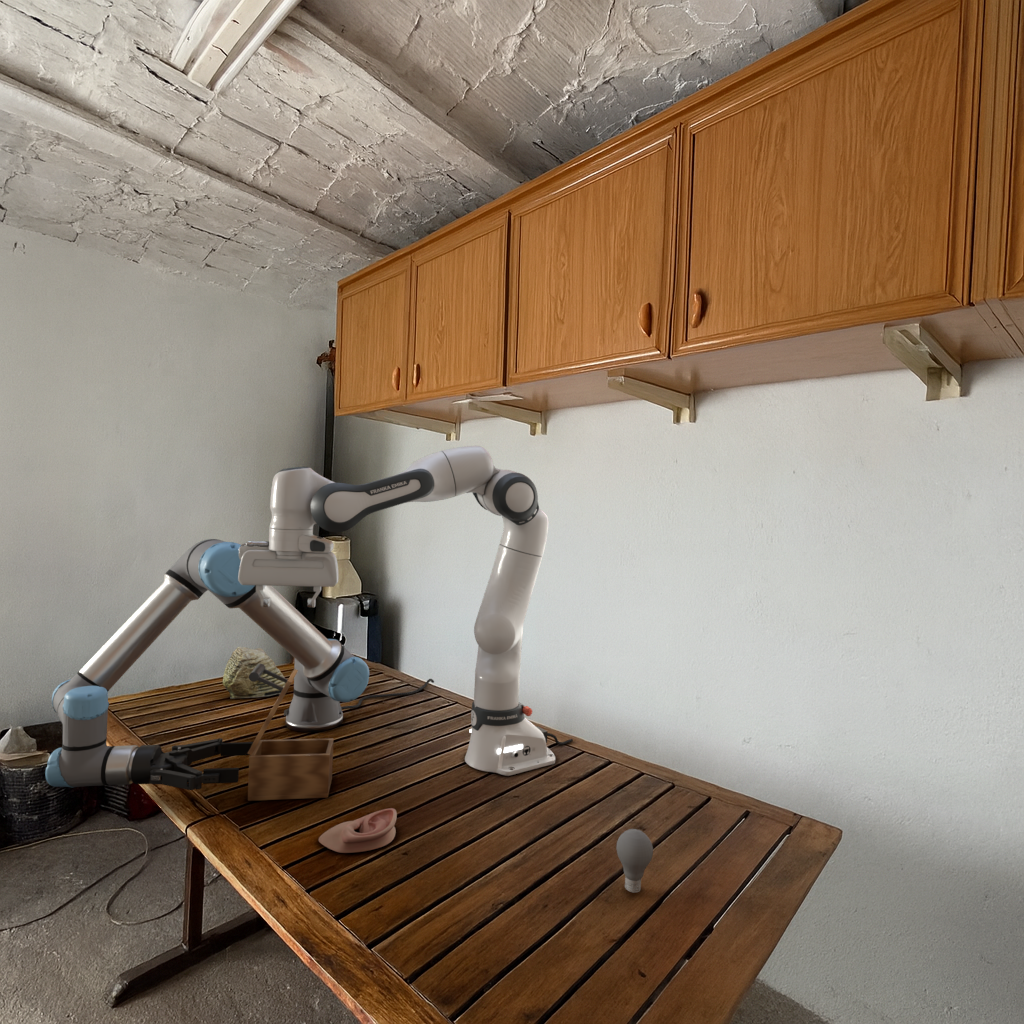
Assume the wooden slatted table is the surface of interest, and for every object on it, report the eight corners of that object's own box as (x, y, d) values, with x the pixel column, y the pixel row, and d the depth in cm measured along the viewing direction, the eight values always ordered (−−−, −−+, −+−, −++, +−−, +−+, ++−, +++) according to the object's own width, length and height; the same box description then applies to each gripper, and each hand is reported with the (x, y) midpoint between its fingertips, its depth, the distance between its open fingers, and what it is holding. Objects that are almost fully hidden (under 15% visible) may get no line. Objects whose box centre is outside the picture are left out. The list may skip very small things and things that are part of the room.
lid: (298, 670, 141) (263, 654, 139) (291, 682, 132) (254, 665, 130) (260, 738, 140) (225, 722, 138) (251, 755, 130) (213, 738, 129)
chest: (331, 778, 143) (333, 738, 142) (327, 797, 134) (329, 754, 133) (257, 781, 140) (258, 739, 140) (247, 801, 131) (249, 757, 130)
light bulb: (610, 879, 108) (613, 822, 108) (644, 879, 109) (647, 822, 109) (619, 902, 102) (622, 840, 102) (655, 901, 103) (658, 840, 103)
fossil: (218, 695, 195) (220, 647, 195) (278, 685, 208) (279, 640, 207) (228, 703, 189) (230, 653, 188) (289, 692, 201) (290, 645, 201)
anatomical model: (310, 826, 114) (340, 797, 125) (309, 848, 114) (339, 817, 125) (379, 837, 111) (403, 806, 122) (378, 859, 111) (403, 827, 123)
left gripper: (157, 758, 143) (257, 755, 147) (109, 812, 118) (230, 807, 122) (158, 725, 143) (258, 722, 147) (110, 772, 118) (232, 768, 122)
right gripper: (235, 541, 130) (233, 608, 130) (338, 544, 134) (335, 609, 134) (242, 539, 136) (240, 603, 137) (340, 542, 140) (338, 604, 140)
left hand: (245, 761), depth 134 cm, fingers open, 13 cm apart
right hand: (288, 606), depth 135 cm, fingers open, 8 cm apart
